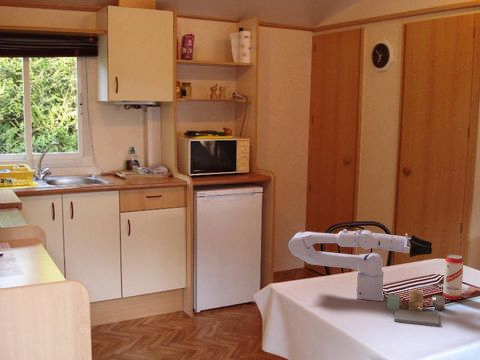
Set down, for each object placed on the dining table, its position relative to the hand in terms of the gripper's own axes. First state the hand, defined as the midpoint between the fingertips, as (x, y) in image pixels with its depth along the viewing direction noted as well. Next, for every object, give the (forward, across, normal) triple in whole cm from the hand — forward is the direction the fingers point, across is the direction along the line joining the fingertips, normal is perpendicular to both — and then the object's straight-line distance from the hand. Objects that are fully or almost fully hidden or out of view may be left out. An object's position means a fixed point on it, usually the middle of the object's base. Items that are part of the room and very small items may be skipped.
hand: (431, 248), depth 193 cm
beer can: (+9, +8, +20) cm, 23 cm away
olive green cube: (-11, -7, +21) cm, 25 cm away
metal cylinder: (+4, -3, +20) cm, 21 cm away
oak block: (-3, -6, +21) cm, 22 cm away
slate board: (-3, -15, +21) cm, 26 cm away
